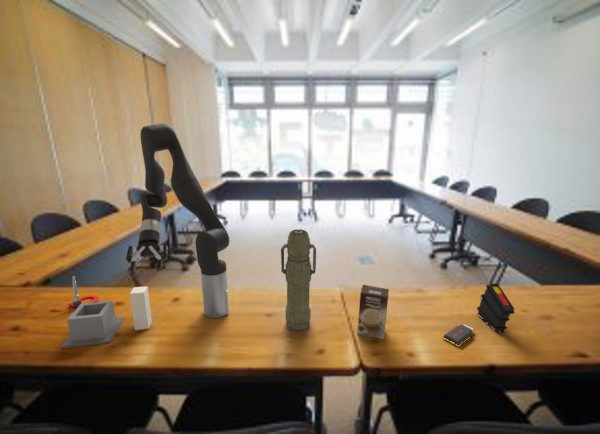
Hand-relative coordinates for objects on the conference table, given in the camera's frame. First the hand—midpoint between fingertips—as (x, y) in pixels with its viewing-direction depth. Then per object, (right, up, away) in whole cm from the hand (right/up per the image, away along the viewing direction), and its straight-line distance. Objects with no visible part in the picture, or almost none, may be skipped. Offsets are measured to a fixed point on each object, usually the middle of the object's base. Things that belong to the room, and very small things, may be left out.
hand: (145, 271), depth 116 cm
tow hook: (-29, -14, +9) cm, 34 cm away
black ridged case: (+128, -19, -4) cm, 129 cm away
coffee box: (+83, -20, -8) cm, 85 cm away
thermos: (+57, -19, -4) cm, 60 cm away
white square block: (+2, -18, -6) cm, 19 cm away
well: (-12, -19, -10) cm, 25 cm away
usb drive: (+112, -21, -10) cm, 115 cm away
